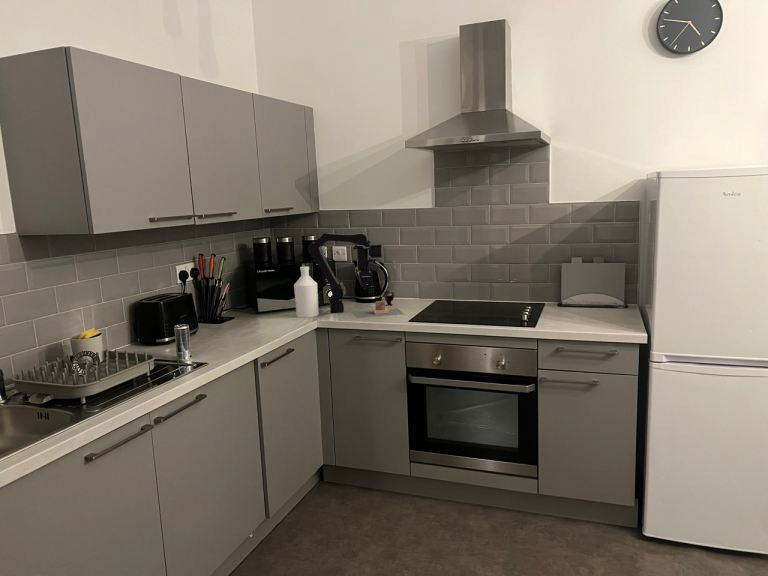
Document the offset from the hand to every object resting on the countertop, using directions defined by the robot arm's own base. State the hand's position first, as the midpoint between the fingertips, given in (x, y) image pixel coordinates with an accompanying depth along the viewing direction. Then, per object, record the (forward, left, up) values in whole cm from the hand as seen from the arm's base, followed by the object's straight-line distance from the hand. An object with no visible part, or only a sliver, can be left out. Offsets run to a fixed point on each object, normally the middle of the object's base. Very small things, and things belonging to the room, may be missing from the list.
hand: (363, 288), depth 312 cm
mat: (+6, -7, -13) cm, 15 cm away
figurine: (+16, +10, -13) cm, 23 cm away
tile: (+4, -7, -11) cm, 14 cm away
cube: (+7, -7, -11) cm, 14 cm away
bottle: (-29, +4, -13) cm, 32 cm away
